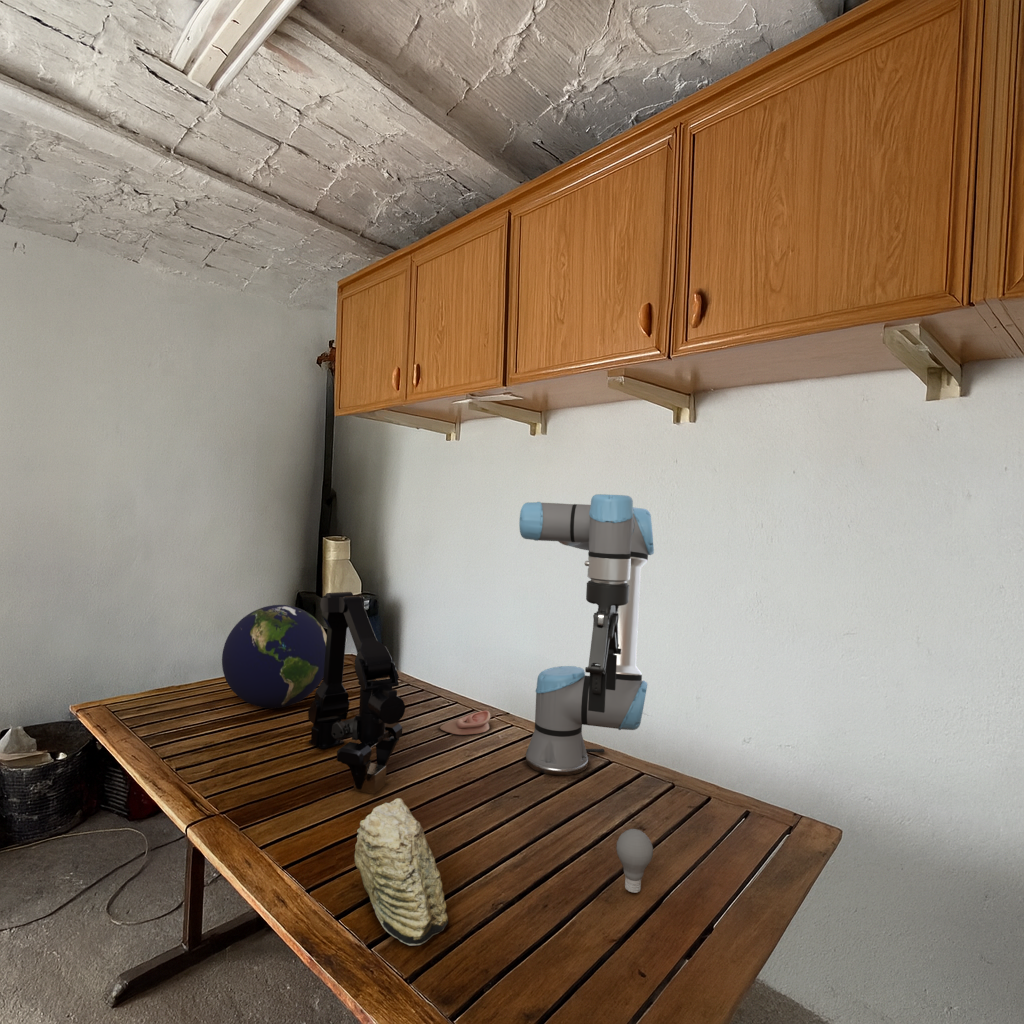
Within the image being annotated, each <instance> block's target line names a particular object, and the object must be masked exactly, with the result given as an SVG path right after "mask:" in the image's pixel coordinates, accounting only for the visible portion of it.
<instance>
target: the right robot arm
mask: <svg viewBox="0 0 1024 1024" xmlns="http://www.w3.org/2000/svg"><path fill="white" fill-rule="evenodd" d="M518 522H519V523H518V524H519V534H520V536H521V538H523V539H525V540H531V541H537V542H538V541H541V542H558V543H560V544H561V545H563V546H568V547H572V548H575V549H578V550H583V551H587V552H588V553H587V556H588V558H587V560H585V561H584V566H585V567H588V568H587V575H586V576H587V578H588V579H589V580H587V582H586V588H585V589H586V591H585V592H586V593H585V601H587V602H588V603H590V604H592V605H597V611H596V612H593V617H592V618H593V621H592V624H593V625H592V632H591V633H592V634H591V641H590V649H589V657H588V665H587V666H585V669H584V668H582V667H580V666H575V665H561V666H554V667H549V668H546V669H544V670H541V672H539V673H538V676H537V681H536V688H535V715H534V719H535V720H534V731H533V734H532V736H531V739H530V741H529V744H528V746H527V745H526V753H525V763H526V764H527V766H528V767H529V768H530V769H533V770H534V771H537V772H539V773H543V774H546V775H551V776H573V775H577V774H580V773H582V772H584V771H585V770H586V769H587V768H588V765H589V756H588V753H599V754H600V753H605V749H604V748H587V747H586V744H585V741H584V737H583V726H592V727H599V728H608V729H616V730H618V731H621V730H625V731H636V730H637V729H639V728H640V726H641V722H642V718H643V713H644V707H645V700H646V695H647V691H648V690H647V689H648V682H647V681H645V680H642V679H643V673H642V671H641V670H640V669H639V667H638V666H637V656H638V655H637V654H638V636H639V635H638V634H639V632H638V631H639V616H640V615H639V614H640V599H641V598H640V596H641V594H640V593H641V580H642V579H641V578H642V577H641V576H642V568H643V567H644V566H645V565H646V564H647V563H648V559H649V556H652V555H654V553H655V549H654V536H653V535H654V534H653V523H652V514H651V512H650V510H648V509H646V508H644V507H643V508H642V507H634V500H633V498H632V496H630V495H624V494H605V493H604V494H601V493H600V494H599V493H596V494H594V495H592V496H591V499H590V504H582V503H581V504H580V503H577V504H576V503H558V502H541V501H536V502H534V501H533V502H529V501H528V502H525V503H523V505H522V506H521V509H520V513H519V521H518ZM586 673H587V674H588V673H589V675H586Z"/></svg>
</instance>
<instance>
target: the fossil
mask: <svg viewBox="0 0 1024 1024" xmlns="http://www.w3.org/2000/svg"><path fill="white" fill-rule="evenodd" d="M356 831H357V832H356V833H357V835H356V840H357V841H356V843H355V846H354V847H355V848H354V850H355V851H354V864H355V867H356V868H357V870H358V871H359V874H360V877H361V880H362V884H363V888H364V890H365V892H366V893H367V895H368V897H369V901H370V903H371V905H372V908H373V910H374V913H375V916H376V918H377V920H378V922H379V923H380V925H381V926H382V928H383V929H384V931H385V932H387V933H388V934H389V935H390V936H392V937H393V938H395V939H397V940H398V941H399V942H400V943H403V944H405V945H407V946H409V947H410V946H421V945H423V944H425V943H427V942H428V940H430V939H431V938H432V937H433V936H435V935H438V934H439V933H441V932H443V931H444V929H445V928H446V926H447V925H448V924H449V917H448V914H447V903H446V901H445V892H444V890H443V887H444V886H443V881H442V880H441V879H442V878H441V876H442V875H441V873H440V870H439V869H438V867H437V863H436V858H435V857H434V854H433V851H432V849H431V848H430V845H429V843H428V841H427V838H426V836H425V835H426V834H425V832H424V828H423V827H422V825H421V822H420V821H418V820H417V819H416V818H415V816H413V814H412V812H411V810H410V809H409V807H408V806H407V805H406V804H405V802H404V800H403V799H402V798H401V797H397V798H395V799H393V800H392V801H390V802H384V803H383V804H380V805H377V806H376V807H374V808H372V811H371V813H369V814H368V815H367V816H365V818H364V819H363V820H360V822H359V828H357V830H356Z"/></svg>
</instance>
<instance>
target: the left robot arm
mask: <svg viewBox="0 0 1024 1024" xmlns="http://www.w3.org/2000/svg"><path fill="white" fill-rule="evenodd" d="M319 603H320V604H319V605H320V611H321V616H322V618H323V620H324V622H325V624H326V626H327V627H326V635H327V639H326V651H325V663H324V676H323V679H322V681H321V682H320V684H319V685H318V686H317V688H316V689H315V692H314V699H313V700H312V702H311V703H310V706H309V708H308V709H307V716H308V717H307V719H308V720H309V721H310V723H312V727H311V730H310V731H311V732H310V733H311V735H310V739H309V740H308V743H309V744H310V745H313V746H314V747H316V748H318V749H320V750H327V749H329V748H333V747H336V746H340V745H343V744H344V743H345V741H344V739H348V738H351V740H353V741H359V742H360V743H358V742H353V741H349V742H348V743H345V744H344V745H343V746H341V747H339V749H337V751H336V761H337V762H339V763H341V764H344V765H346V766H348V768H349V770H350V773H351V776H352V779H353V783H354V782H355V786H356V788H357V789H359V790H361V789H362V787H363V784H364V781H365V778H366V775H367V772H368V769H369V767H370V764H371V763H372V759H371V758H372V752H373V748H374V747H375V754H376V756H375V757H376V764H379V765H385V766H386V767H387V763H388V762H389V760H390V758H391V756H392V754H393V752H394V750H395V748H396V746H397V744H398V742H399V741H400V738H401V737H402V736H403V726H402V725H401V724H400V722H399V721H400V720H401V719H402V718H403V717H404V715H405V712H406V704H405V702H404V700H403V698H401V697H400V696H398V690H397V689H396V688H394V687H399V678H400V676H399V674H398V670H397V667H396V665H395V661H394V659H393V657H392V656H391V654H390V652H389V649H388V648H387V646H386V645H385V644H383V643H381V642H380V641H379V640H378V638H377V637H376V634H375V632H374V629H373V627H372V624H371V621H370V619H369V617H368V616H369V615H368V613H367V611H366V608H365V600H364V597H363V596H361V595H354V593H353V592H352V591H342V592H341V591H339V592H327V593H325V595H323V596H322V597H321V599H320V602H319ZM348 630H349V633H350V635H351V638H352V642H353V644H354V646H355V650H356V657H355V659H354V669H355V670H354V672H355V675H356V677H357V680H358V682H357V684H358V685H359V687H360V689H359V710H358V713H357V714H356V715H354V717H353V718H349V719H347V717H348V714H349V710H350V709H349V708H350V703H351V701H350V700H349V697H350V695H349V693H348V691H347V690H346V688H345V686H344V685H343V678H344V667H345V656H346V644H347V632H348Z"/></svg>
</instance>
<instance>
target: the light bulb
mask: <svg viewBox="0 0 1024 1024" xmlns="http://www.w3.org/2000/svg"><path fill="white" fill-rule="evenodd" d="M615 849H616V854H617V857H618V859H619V861H620V863H621V865H622V867H623V873H624V874H623V875H624V876H625V878H624V888H625V890H627V891H628V892H630V893H634V894H635V893H639V892H640V891H641V889H642V887H641V886H642V879H643V877H644V875H645V871H646V868H647V867H648V866H649V864H650V863H651V861H652V859H653V855H654V847H653V843H652V841H651V838H649V836H648V835H647V834H646V833H645V832H643V831H642V830H641V829H636V828H629V829H627V830H625V831H623V832H622V833H621V834H620V835H619V837H618V839H617V841H616V847H615Z"/></svg>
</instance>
